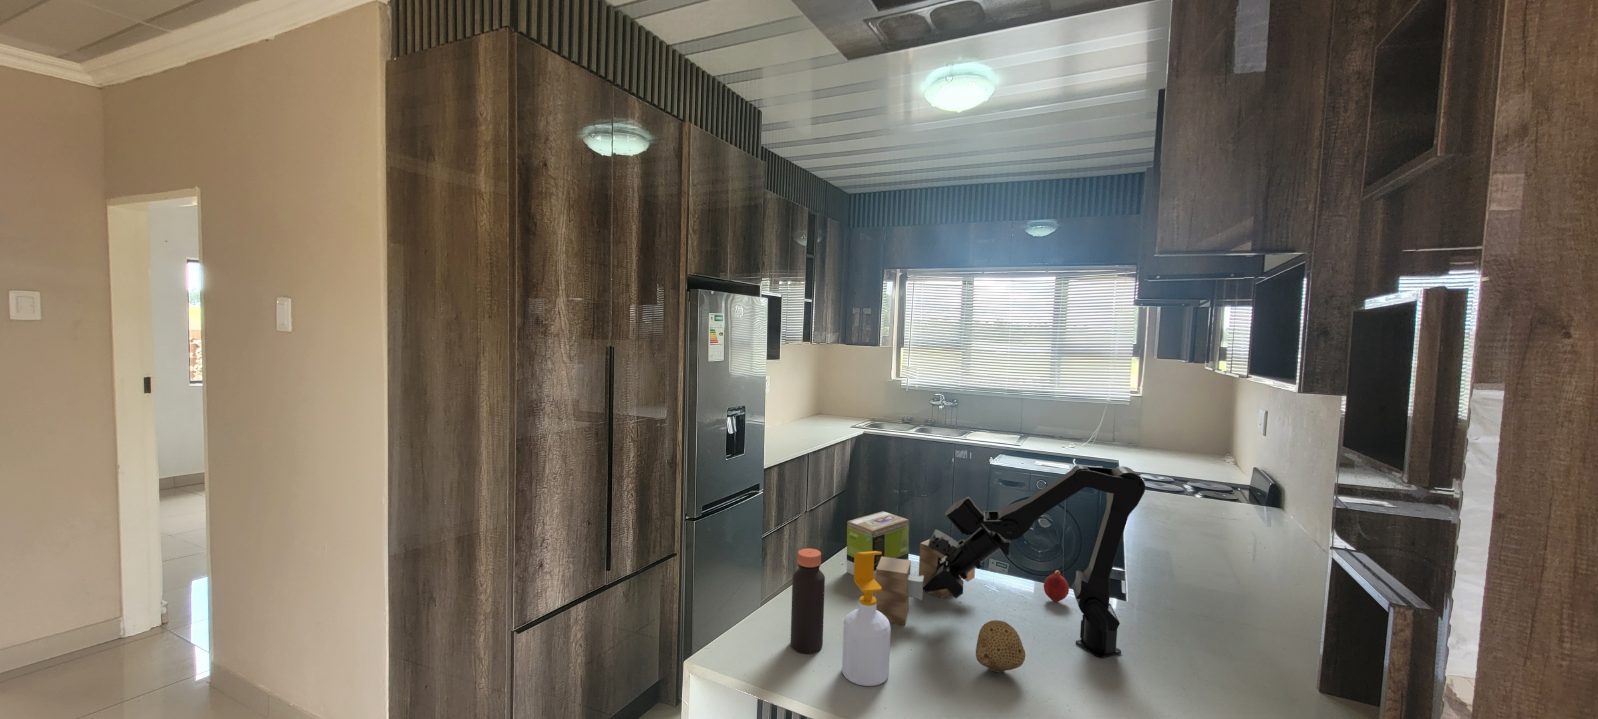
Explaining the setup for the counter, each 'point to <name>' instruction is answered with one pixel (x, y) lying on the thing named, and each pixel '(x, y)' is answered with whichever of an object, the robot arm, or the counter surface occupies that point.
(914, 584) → the grey key
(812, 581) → the vinegar
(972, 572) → the tan rectangular block
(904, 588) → the walnut block left
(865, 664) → the soap bottle
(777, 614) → the counter surface
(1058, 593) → the onion
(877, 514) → the tea box
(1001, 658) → the natural sponge
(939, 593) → the walnut block right
